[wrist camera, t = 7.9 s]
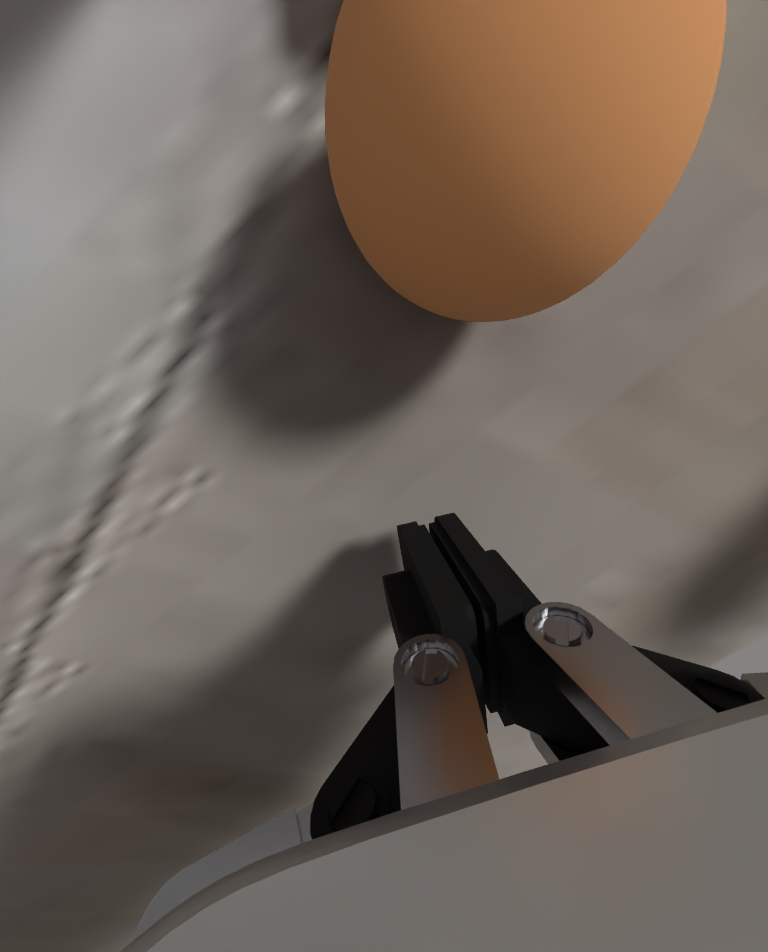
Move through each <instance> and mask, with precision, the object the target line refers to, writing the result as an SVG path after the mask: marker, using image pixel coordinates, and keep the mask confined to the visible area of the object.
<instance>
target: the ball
mask: <svg viewBox="0 0 768 952" xmlns="http://www.w3.org/2000/svg"><path fill="white" fill-rule="evenodd" d="M725 28H726V0H343V4H342V7H341V10H340V13H339V16H338V19H337V22H336V27H335V31H334V36H333V41H332V46H331V51H330V56H329V64H328V74H327V84H326V96H325V135H326V144H327V152H328V160H329V167H330V174H331V178H332V182H333V186H334V190H335V194H336V197H337V200H338V203H339V206H340V209H341V212H342V214H343V217H344V219H345V222H346V225H347V227H348V229H349V231H350V233H351V235H352V237H353V239H354V241H355V242H356V244H357V246H358V247H359V249H360V251H361V252H362V254H363V255H364V257H365V258H366V260H367V261H368V263H369V264H370V265H371V266H372V267H373V269H374V270H375V271H376V272H377V273H378V274H379V275H380V276H381V278H382V279H383V280H384V281H385V282H386V283H387V284H388V285H389V286H390V287H392V288H393V289H394V290H395V291H396V292H397V293H399V294H400V295H402V296H403V297H404V298H406V299H407V300H409V301H411V302H412V303H414V304H416V305H417V306H419V307H421V308H424V309H426V310H428V311H430V312H433V313H435V314H438V315H441V316H444V317H448V318H452V319H456V320H462V321H470V322H491V321H503V320H510V319H514V318H519V317H522V316H526V315H530V314H533V313H536V312H539V311H541V310H544V309H546V308H549V307H551V306H553V305H555V304H557V303H559V302H562V301H563V300H565V299H567V298H569V297H570V296H572V295H574V294H575V293H577V292H578V291H580V290H582V289H583V288H585V287H586V286H588V285H589V284H591V283H592V282H593V281H595V280H596V279H597V278H598V277H599V276H601V275H602V274H603V273H604V272H605V271H607V270H608V269H609V268H610V267H611V266H612V265H614V264H615V263H616V262H617V261H618V260H619V259H620V258H621V257H622V256H623V255H624V254H625V253H626V252H627V251H628V250H629V249H630V248H631V247H632V246H633V245H634V244H635V243H636V241H637V240H638V239H639V238H640V237H641V236H642V234H643V233H644V232H645V230H646V229H647V228H648V226H649V225H650V224H651V222H652V221H653V220H654V218H655V217H656V216H657V215H658V213H659V212H660V210H661V209H662V208H663V206H664V205H665V203H666V201H667V200H668V198H669V197H670V195H671V193H672V192H673V190H674V188H675V187H676V185H677V183H678V182H679V180H680V178H681V177H682V175H683V173H684V170H685V168H686V166H687V164H688V162H689V160H690V158H691V156H692V154H693V151H694V149H695V147H696V145H697V143H698V140H699V137H700V134H701V131H702V128H703V126H704V123H705V120H706V117H707V114H708V111H709V108H710V106H711V103H712V100H713V96H714V92H715V88H716V83H717V79H718V75H719V70H720V66H721V62H722V54H723V45H724V37H725Z"/></svg>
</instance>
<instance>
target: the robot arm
mask: <svg viewBox="0 0 768 952" xmlns="http://www.w3.org/2000/svg"><path fill="white" fill-rule="evenodd" d="M397 531H398V537H399V543H400V549H401V555H402V561H403V567H404V571H401V572H397V573H393V574H389V575H385V576H382V578H383V584H384V589H385V594H386V600H387V604H388V609H389V613H390V618H391V622H392V626H393V630H394V633H395V637H396V641H397V644H398V648H399V649H398V651H397V653H396V655H395V657H394V664H393V672H394V686H393V687H392V689H391V690H390V691H389V693H388V694H387V696H386V697H385V698H384V700H383V701H382V703H381V704H380V705H379V707H378V708H377V710H376V711H375V712H374V714H373V715H372V717H371V718H370V719H369V721H368V722H367V724H366V725H365V726H364V728H363V729H362V731H361V732H360V733H359V735H358V736H357V738H356V739H355V741H354V742H353V743H352V745H351V746H350V748H349V749H348V750H347V752H346V753H345V755H344V756H343V757H342V759H341V760H340V762H339V763H338V764H337V766H336V767H335V769H334V770H333V771H332V773H331V774H330V776H329V777H328V778H327V780H326V781H325V783H324V784H323V785H322V787H321V789H320V791H319V793H318V794H317V796H316V798H315V800H314V802H313V803H312V804H310V805H308V806H306V807H305V808H303V809H301V810H299V811H298V812H296V810H295V808H294V806H293V807H292V808H290V809H288V810H286V811H284V812H283V813H281V814H279V815H277V816H276V817H274V818H272V819H270V820H269V821H267V822H265V823H263V824H262V825H260V826H258V827H256V828H255V829H253V830H251V831H249V832H247V833H246V834H244V835H242V836H240V837H239V838H237V839H235V840H233V841H232V842H230V843H228V844H226V845H225V846H223V847H221V848H219V849H217V850H216V851H214V852H212V853H210V854H209V855H207V856H205V857H203V858H202V859H200V860H198V861H196V862H195V863H193V864H191V865H189V866H187V867H186V868H184V869H182V870H181V871H180V872H178V873H177V874H176V875H174V876H173V877H172V878H171V879H169V880H168V881H167V882H166V883H165V884H164V885H163V886H162V887H161V889H160V890H159V891H158V892H157V894H156V895H155V896H154V897H153V899H152V900H151V901H150V903H149V905H148V907H147V909H146V911H145V912H144V914H143V916H142V918H141V920H140V922H139V924H138V928H137V932H136V935H135V939H134V941H133V942H132V943H130V944H129V945H128V946H127V947H126V948H124V949H123V950H122V951H121V952H768V673H750V674H742V676H741V680H739V679H737V678H735V677H734V676H731V675H729V674H726V673H723V672H721V671H718V670H715V669H711V668H708V667H705V666H701V665H698V664H694V663H691V662H687V661H684V660H680V659H677V658H673V657H670V656H667V655H663V654H660V653H656V652H653V651H649V650H646V649H642V648H639V647H635V646H632V645H630V644H629V643H627V642H626V641H625V640H624V639H622V638H621V637H620V636H618V635H617V634H616V633H615V632H613V631H612V630H611V629H609V628H608V627H607V626H606V625H604V624H603V623H602V622H600V621H599V620H598V619H597V618H595V617H594V616H593V615H591V614H590V613H589V612H587V611H585V610H584V609H582V608H580V607H577V606H574V605H572V604H568V603H562V602H547V603H543V604H541V602H540V601H539V600H538V599H537V598H536V597H535V595H534V594H533V593H532V592H531V591H530V590H529V588H528V587H527V586H526V585H525V584H524V583H523V581H522V580H521V579H520V578H519V577H518V575H517V574H516V573H515V572H514V571H513V570H512V568H511V567H510V566H509V565H508V564H507V563H506V561H505V560H504V559H503V558H502V557H501V556H500V554H499V553H498V552H497V551H495V550H489V551H484V549H483V548H482V547H481V546H480V544H479V543H478V542H477V541H476V539H475V538H474V537H473V536H472V534H471V533H470V532H469V531H468V529H467V528H466V527H465V526H464V524H463V523H462V522H461V521H460V519H459V518H458V517H457V516H456V514H455V513H450V514H446V515H442V516H437V517H435V522H433V523H429V531H430V533H429V532H428V530H427V528H426V526H425V525H420V526H418V524H417V522H411V523H407V524H402V525H398V526H397ZM485 704H486V706H487V708H488V710H489V711H490V713H494V712H498V714H499V716H500V718H501V720H502V722H503V724H504V726H509V725H512V724H516V725H519V726H521V727H523V728H525V729H527V730H529V731H530V736H531V739H532V741H533V743H534V744H535V746H536V748H537V749H538V751H539V752H540V753H541V755H542V756H543V758H544V759H545V760H546V762H547V763H548V765H545V766H542V767H538V768H535V769H532V770H529V771H525V772H522V773H519V774H516V775H512V776H509V777H506V778H503V779H500V780H499V777H498V773H497V770H496V766H495V762H494V759H493V755H492V751H491V748H490V744H489V740H488V737H487V733H488V729H487V718H486V707H485Z"/></svg>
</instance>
